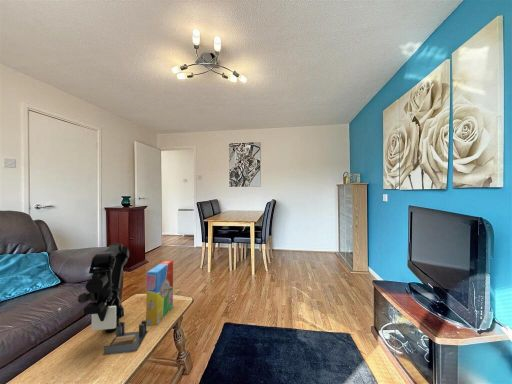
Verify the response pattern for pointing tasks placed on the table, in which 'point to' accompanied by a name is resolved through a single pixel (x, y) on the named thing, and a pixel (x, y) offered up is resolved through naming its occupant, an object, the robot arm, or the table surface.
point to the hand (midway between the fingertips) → (103, 320)
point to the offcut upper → (124, 340)
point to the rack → (121, 332)
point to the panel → (105, 320)
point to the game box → (159, 292)
